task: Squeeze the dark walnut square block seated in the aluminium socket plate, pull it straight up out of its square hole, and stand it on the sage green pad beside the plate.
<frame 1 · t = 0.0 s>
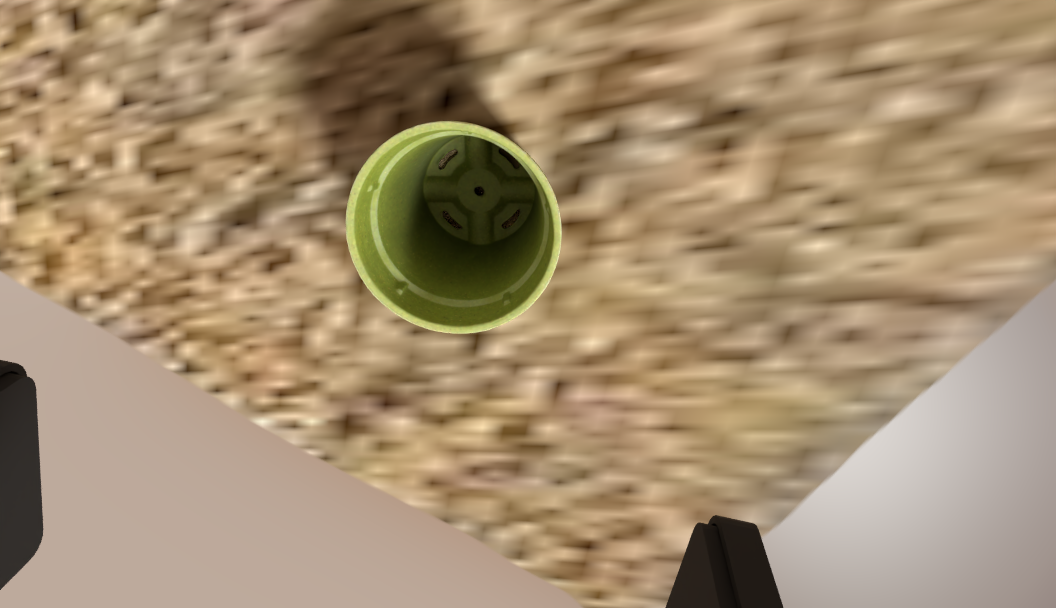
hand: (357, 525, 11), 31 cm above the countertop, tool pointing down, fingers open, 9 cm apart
plant pot: (479, 186, 41), on the countertop
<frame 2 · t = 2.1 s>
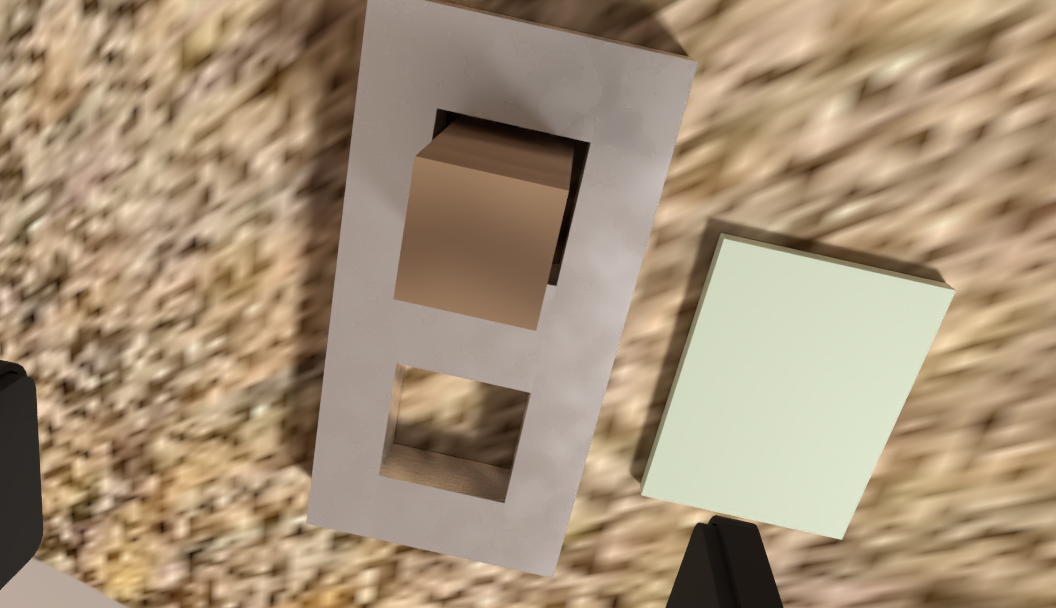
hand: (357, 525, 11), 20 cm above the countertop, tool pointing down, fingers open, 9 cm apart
sage pad: (782, 390, 32), on the countertop
walnut block: (506, 184, 29), resting in socket plate
socket plate: (482, 301, 31), on the countertop
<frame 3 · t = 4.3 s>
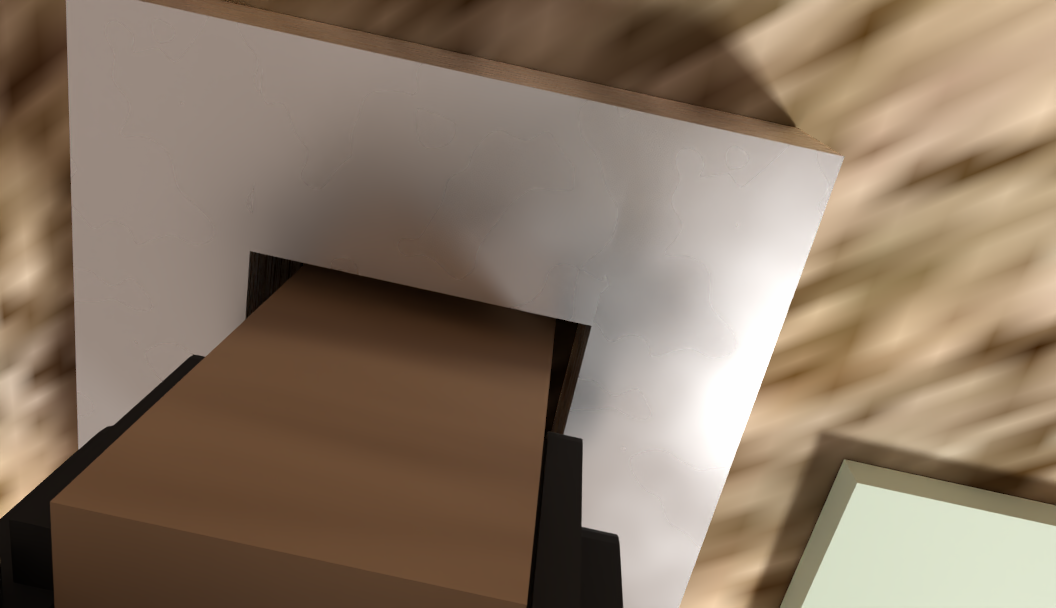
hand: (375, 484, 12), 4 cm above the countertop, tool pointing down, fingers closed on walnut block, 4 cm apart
walnut block: (426, 368, 15), resting in socket plate, touching gripper
socket plate: (393, 563, 17), on the countertop
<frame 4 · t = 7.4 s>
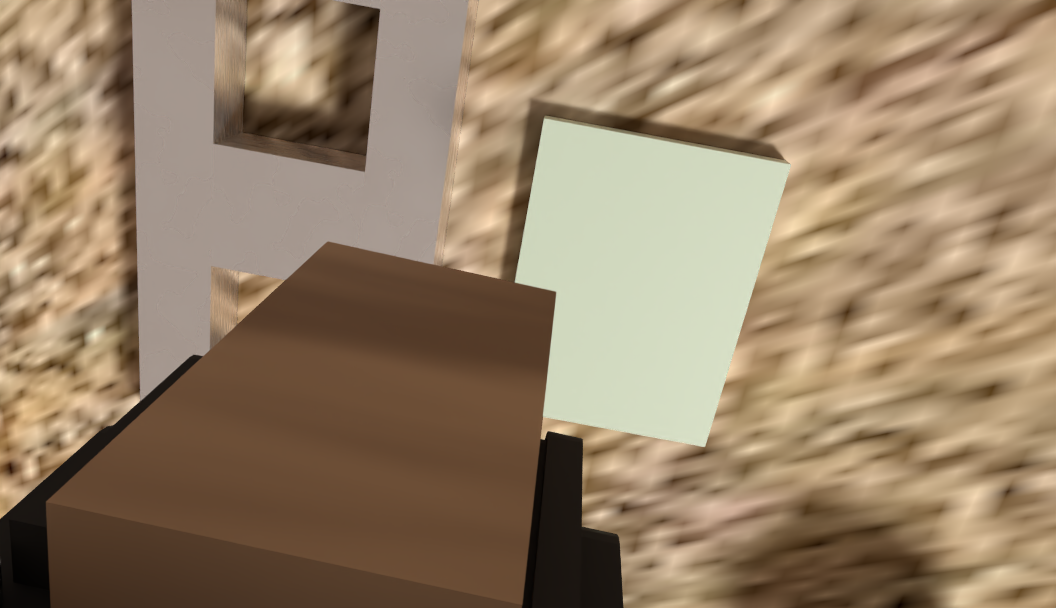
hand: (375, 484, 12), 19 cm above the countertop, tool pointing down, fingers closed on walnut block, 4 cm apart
sage pad: (629, 288, 30), on the countertop
walnut block: (424, 368, 15), point 15 cm above the countertop, touching gripper
socket plate: (308, 203, 30), on the countertop
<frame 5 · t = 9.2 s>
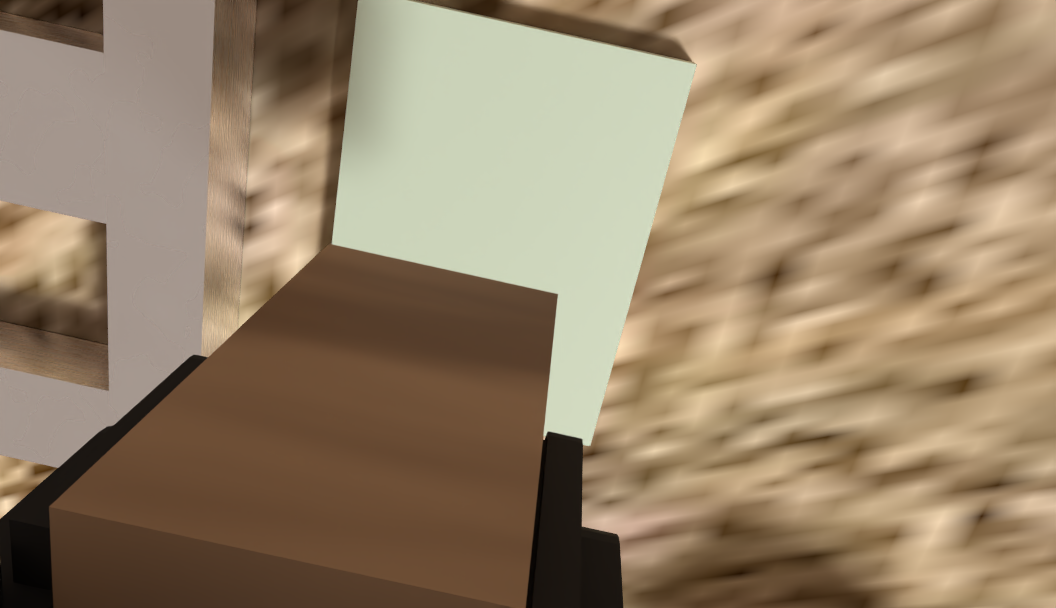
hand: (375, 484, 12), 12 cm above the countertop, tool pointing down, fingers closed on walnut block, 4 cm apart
sage pad: (490, 233, 23), on the countertop
walnut block: (425, 370, 15), point 9 cm above the countertop, touching gripper
socket plate: (66, 106, 22), on the countertop
when the fingers open (7 cm above the countertop, at t = 10.6 s): walnut block drops 2 cm, resting on sage pad.
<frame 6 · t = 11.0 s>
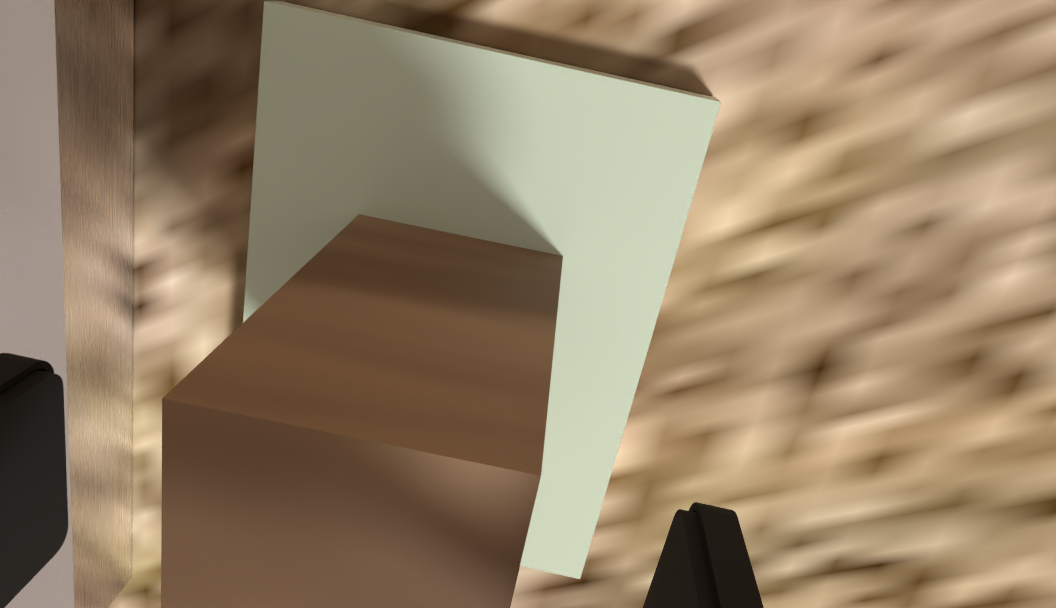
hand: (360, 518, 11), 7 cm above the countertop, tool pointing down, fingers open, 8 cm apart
sage pad: (449, 315, 18), on the countertop
walnut block: (445, 328, 17), point 1 cm above the countertop, touching sage pad
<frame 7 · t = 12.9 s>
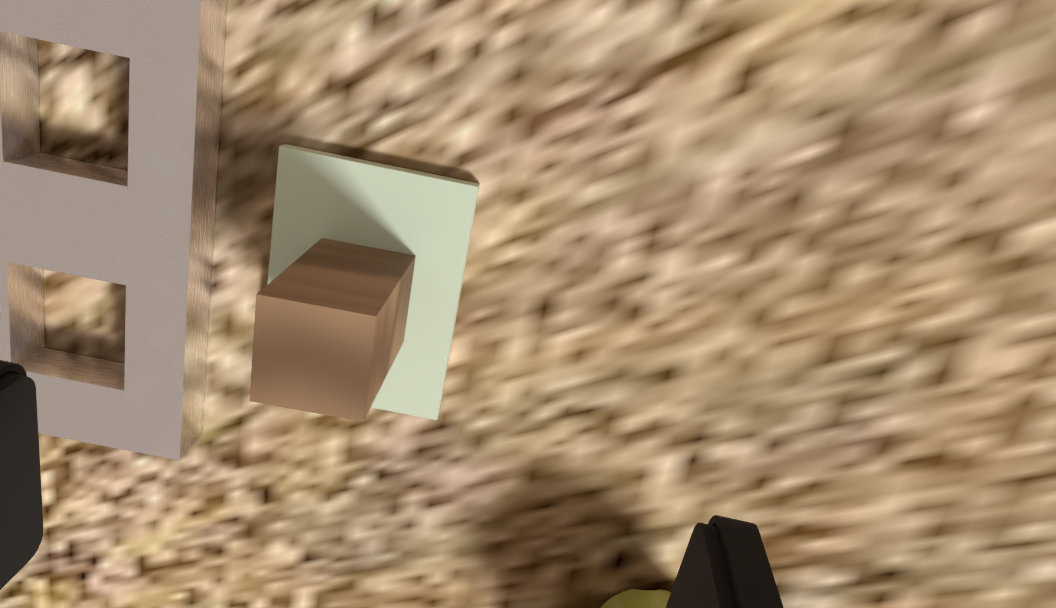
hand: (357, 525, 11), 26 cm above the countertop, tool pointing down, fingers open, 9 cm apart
sage pad: (366, 286, 37), on the countertop
walnut block: (363, 290, 36), point 1 cm above the countertop, touching sage pad
socket plate: (98, 212, 36), on the countertop
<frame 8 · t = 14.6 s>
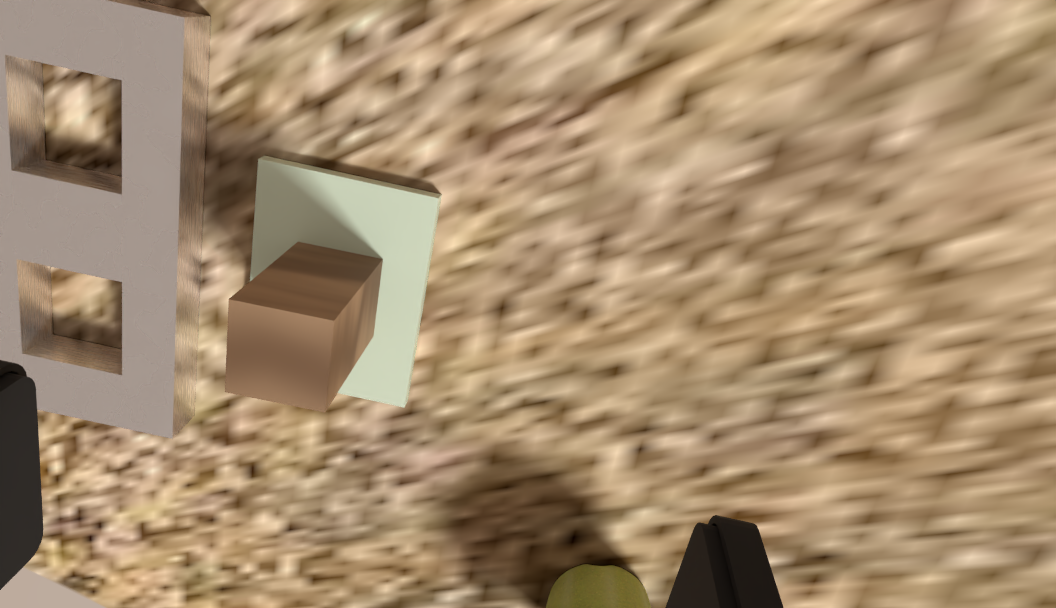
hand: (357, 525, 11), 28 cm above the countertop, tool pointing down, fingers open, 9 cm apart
plant pot: (597, 597, 47), on the countertop
sage pad: (340, 285, 40), on the countertop
walnut block: (336, 289, 39), point 1 cm above the countertop, touching sage pad
socket plate: (98, 214, 40), on the countertop
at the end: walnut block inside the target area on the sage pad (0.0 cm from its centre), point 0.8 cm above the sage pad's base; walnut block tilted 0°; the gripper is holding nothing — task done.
